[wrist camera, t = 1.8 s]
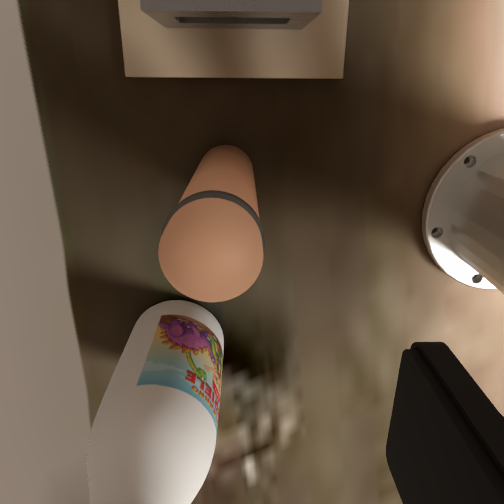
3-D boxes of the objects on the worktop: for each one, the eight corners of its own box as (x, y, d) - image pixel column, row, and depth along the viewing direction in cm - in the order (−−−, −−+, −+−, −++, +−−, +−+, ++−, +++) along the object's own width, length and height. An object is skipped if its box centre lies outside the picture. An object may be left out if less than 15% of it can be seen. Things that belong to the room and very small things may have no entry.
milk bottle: (166, 385, 38) (94, 674, 20) (116, 321, 35) (-23, 585, 17) (240, 350, 37) (238, 623, 18) (194, 281, 34) (137, 518, 16)
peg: (266, 172, 31) (288, 255, 16) (226, 211, 32) (213, 323, 17) (225, 130, 30) (208, 179, 15) (185, 172, 31) (132, 256, 16)
